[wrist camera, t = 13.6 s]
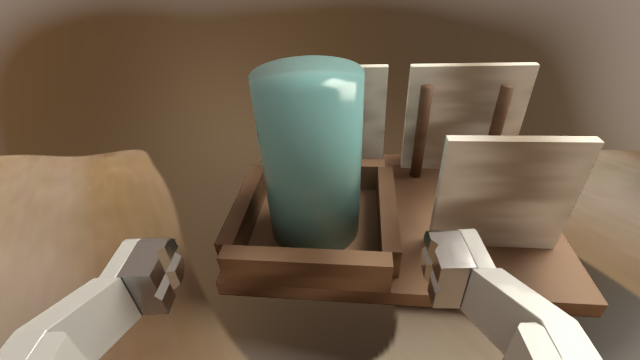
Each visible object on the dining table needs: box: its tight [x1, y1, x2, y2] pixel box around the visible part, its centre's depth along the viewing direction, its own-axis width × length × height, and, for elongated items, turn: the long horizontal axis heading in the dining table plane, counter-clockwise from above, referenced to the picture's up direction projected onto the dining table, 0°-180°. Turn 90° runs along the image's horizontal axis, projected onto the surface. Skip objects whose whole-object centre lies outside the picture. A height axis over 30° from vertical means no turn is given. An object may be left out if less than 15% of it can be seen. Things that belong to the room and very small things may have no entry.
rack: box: [214, 62, 608, 317], centre depth 22 cm, size 20×14×9 cm
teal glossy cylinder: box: [248, 55, 365, 250], centre depth 20 cm, size 6×6×10 cm
